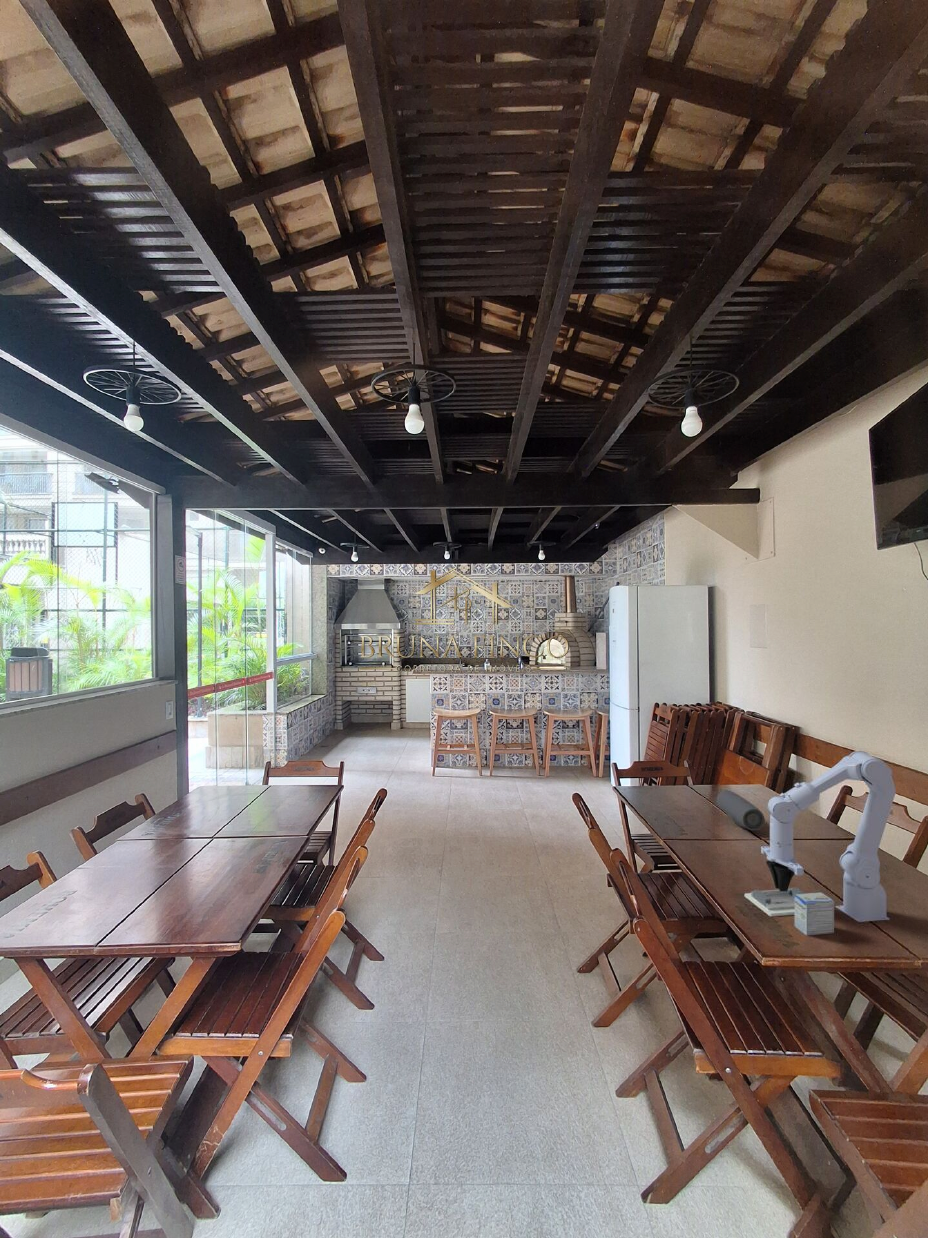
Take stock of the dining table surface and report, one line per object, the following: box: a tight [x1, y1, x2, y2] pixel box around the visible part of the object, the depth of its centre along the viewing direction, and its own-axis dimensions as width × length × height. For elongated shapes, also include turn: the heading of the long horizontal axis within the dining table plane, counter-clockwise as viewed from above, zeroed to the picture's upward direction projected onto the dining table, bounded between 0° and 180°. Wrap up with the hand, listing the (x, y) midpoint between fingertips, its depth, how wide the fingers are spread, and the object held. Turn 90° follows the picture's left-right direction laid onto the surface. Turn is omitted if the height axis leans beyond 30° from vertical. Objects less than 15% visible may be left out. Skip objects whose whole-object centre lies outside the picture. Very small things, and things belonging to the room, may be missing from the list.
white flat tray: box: [744, 886, 807, 917], centre depth 156 cm, size 15×11×3 cm
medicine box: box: [794, 892, 835, 936], centre depth 143 cm, size 8×4×9 cm, turn 98°
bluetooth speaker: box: [715, 789, 766, 831], centre depth 218 cm, size 23×9×10 cm, turn 179°
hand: (781, 889), depth 156 cm, fingers closed
